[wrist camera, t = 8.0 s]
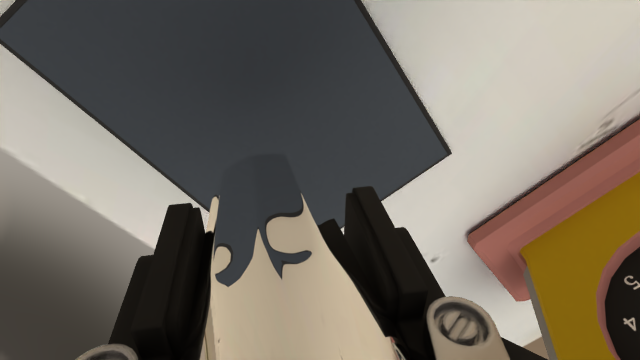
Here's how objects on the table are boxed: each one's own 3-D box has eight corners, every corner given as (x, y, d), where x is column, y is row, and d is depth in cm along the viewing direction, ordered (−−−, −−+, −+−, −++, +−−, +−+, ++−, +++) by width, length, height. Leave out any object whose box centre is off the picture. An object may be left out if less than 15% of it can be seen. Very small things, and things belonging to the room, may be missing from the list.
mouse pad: (-11, 30, 16) (-17, 33, 16) (228, -219, 14) (228, -224, 13) (279, 267, 27) (280, 272, 26) (450, 151, 24) (453, 154, 23)
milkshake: (289, 276, 14) (377, 728, 6) (161, 209, 12) (1, 849, 3) (374, 195, 13) (630, 613, 5) (254, 101, 11) (364, 659, 2)
